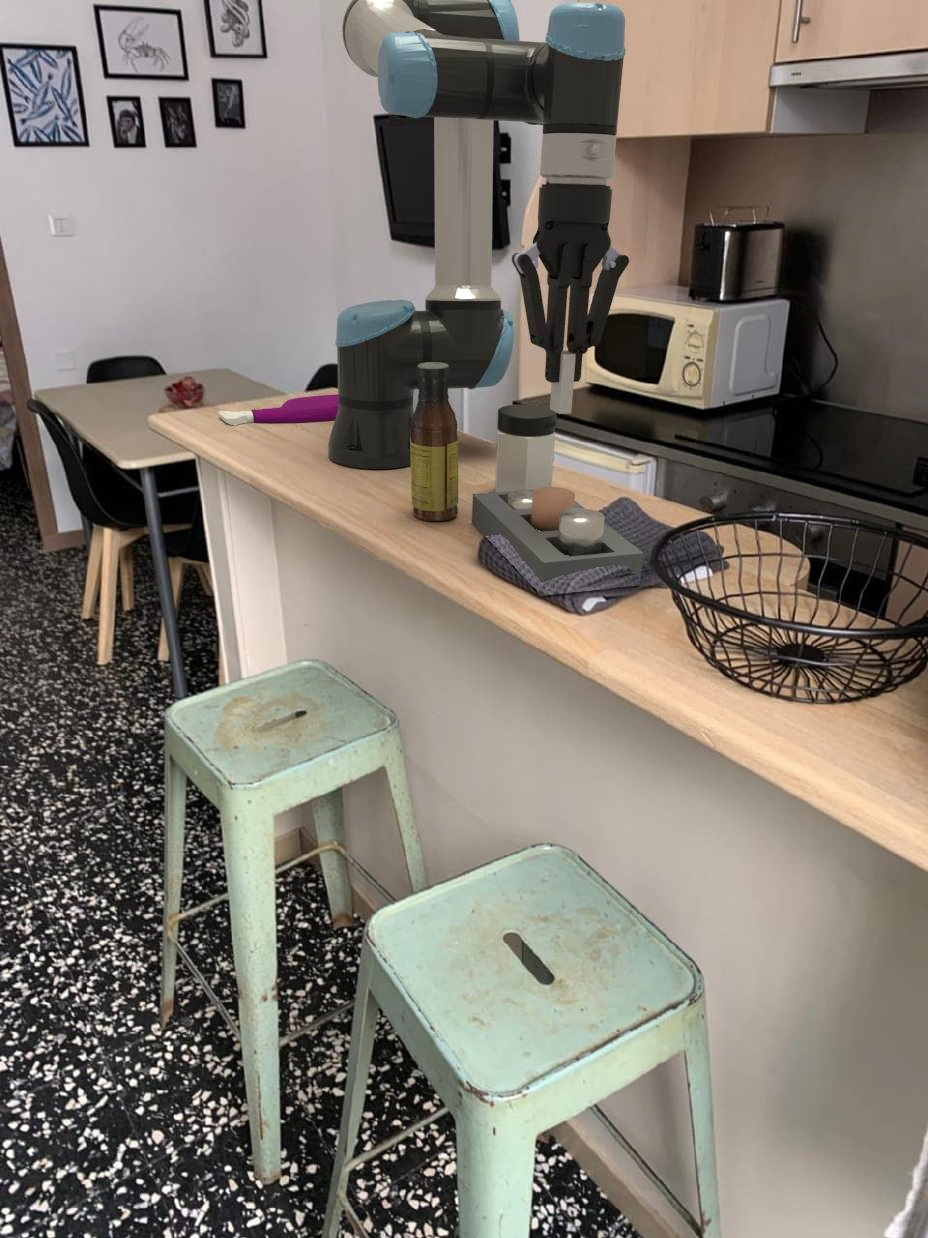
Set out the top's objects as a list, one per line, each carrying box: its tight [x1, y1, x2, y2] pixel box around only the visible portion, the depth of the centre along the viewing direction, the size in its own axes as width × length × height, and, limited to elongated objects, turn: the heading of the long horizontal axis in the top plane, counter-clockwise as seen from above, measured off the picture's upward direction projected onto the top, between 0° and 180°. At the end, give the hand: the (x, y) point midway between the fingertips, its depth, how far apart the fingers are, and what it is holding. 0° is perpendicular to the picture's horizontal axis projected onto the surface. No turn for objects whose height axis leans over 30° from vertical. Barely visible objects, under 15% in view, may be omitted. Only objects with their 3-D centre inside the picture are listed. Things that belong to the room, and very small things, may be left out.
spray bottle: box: [218, 393, 338, 427], centre depth 170 cm, size 3×11×24 cm
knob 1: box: [508, 491, 533, 510], centre depth 120 cm, size 5×5×4 cm
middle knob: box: [531, 486, 576, 531], centre depth 112 cm, size 5×5×4 cm
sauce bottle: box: [410, 362, 459, 522], centre depth 120 cm, size 7×6×20 cm
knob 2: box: [557, 507, 606, 556], centre depth 105 cm, size 5×5×4 cm
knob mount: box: [471, 489, 644, 583], centre depth 113 cm, size 24×12×4 cm, turn 18°
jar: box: [494, 403, 558, 492], centre depth 132 cm, size 9×8×12 cm
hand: (560, 410), depth 106 cm, fingers closed
